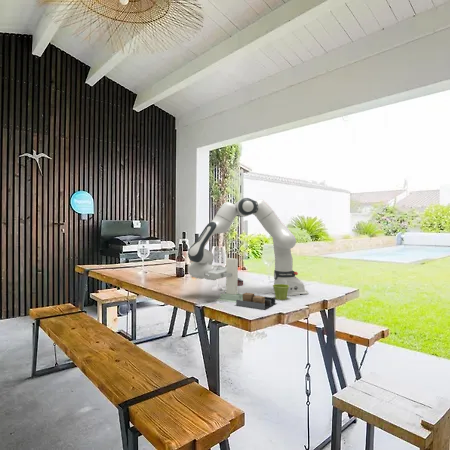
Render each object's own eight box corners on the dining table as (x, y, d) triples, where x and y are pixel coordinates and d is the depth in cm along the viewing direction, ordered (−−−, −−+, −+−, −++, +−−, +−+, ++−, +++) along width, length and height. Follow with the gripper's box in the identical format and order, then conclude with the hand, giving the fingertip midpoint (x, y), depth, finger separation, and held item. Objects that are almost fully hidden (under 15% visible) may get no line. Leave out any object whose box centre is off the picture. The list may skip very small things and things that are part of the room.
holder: (226, 297, 210) (226, 290, 210) (247, 300, 203) (247, 293, 203) (216, 301, 200) (216, 294, 200) (237, 305, 193) (237, 297, 192)
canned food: (233, 289, 255) (237, 276, 259) (244, 290, 249) (247, 276, 253) (224, 284, 248) (227, 271, 252) (235, 284, 241) (238, 271, 245)
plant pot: (280, 303, 197) (281, 287, 196) (269, 300, 204) (269, 285, 204) (292, 301, 202) (292, 286, 202) (280, 297, 210) (281, 283, 210)
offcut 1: (246, 303, 191) (246, 292, 191) (254, 304, 189) (254, 293, 188) (242, 305, 188) (242, 293, 188) (251, 306, 185) (251, 295, 185)
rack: (247, 301, 201) (247, 294, 201) (277, 305, 192) (277, 298, 191) (234, 307, 187) (234, 299, 187) (265, 312, 178) (265, 304, 178)
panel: (228, 292, 204) (228, 258, 203) (237, 293, 201) (237, 258, 200) (226, 293, 202) (226, 258, 201) (235, 294, 199) (235, 259, 198)
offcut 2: (256, 305, 188) (256, 295, 188) (264, 306, 186) (264, 296, 185) (252, 306, 185) (252, 297, 184) (261, 307, 182) (261, 298, 182)
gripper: (202, 269, 198) (224, 271, 191) (221, 265, 216) (241, 266, 209) (202, 280, 199) (223, 283, 192) (221, 275, 216) (241, 277, 209)
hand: (233, 274), depth 200 cm, fingers closed on panel, 2 cm apart
